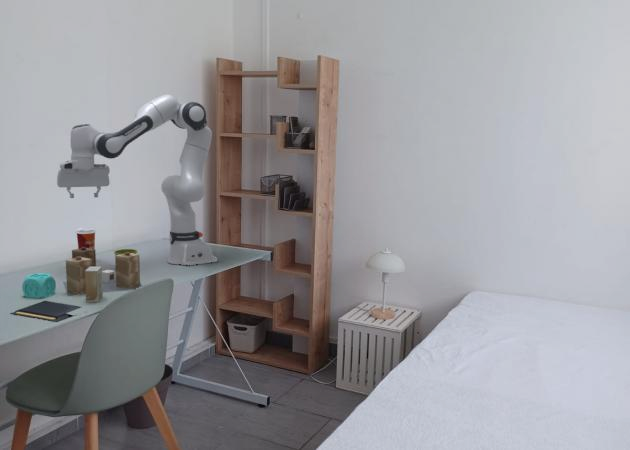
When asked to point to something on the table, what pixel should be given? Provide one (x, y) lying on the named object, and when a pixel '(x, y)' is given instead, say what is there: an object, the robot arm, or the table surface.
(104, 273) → the letter cube
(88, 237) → the coffee cup
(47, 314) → the dark grey book
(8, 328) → the table surface
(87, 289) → the skincare box
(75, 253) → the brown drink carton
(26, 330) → the table surface
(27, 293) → the decorative dice
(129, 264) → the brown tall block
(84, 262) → the light brown wooden canister
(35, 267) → the table surface
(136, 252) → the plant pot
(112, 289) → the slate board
